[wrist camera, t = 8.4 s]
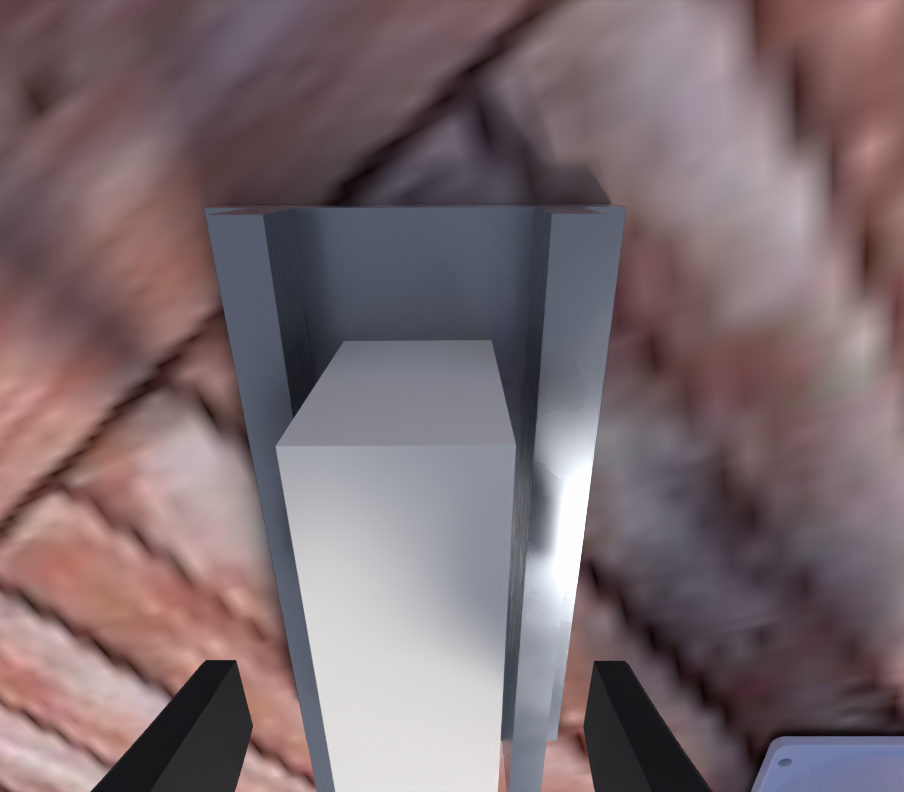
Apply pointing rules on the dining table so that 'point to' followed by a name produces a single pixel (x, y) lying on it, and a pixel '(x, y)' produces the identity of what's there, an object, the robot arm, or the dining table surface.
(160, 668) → the dining table surface
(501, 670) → the grey metal bar
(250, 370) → the grey u-channel tray
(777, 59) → the dining table surface
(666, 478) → the dining table surface
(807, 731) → the dining table surface
